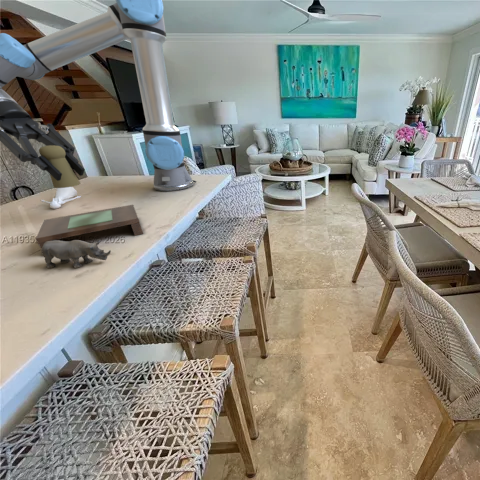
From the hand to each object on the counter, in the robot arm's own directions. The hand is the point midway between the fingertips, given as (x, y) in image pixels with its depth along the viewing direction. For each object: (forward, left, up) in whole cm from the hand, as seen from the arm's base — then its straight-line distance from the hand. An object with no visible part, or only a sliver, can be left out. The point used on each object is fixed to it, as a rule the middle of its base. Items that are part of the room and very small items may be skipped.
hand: (71, 174), depth 75 cm
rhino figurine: (+1, +31, -14) cm, 34 cm away
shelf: (-2, +14, -14) cm, 20 cm away
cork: (+2, -3, -4) cm, 5 cm away
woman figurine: (+8, -28, -14) cm, 33 cm away
